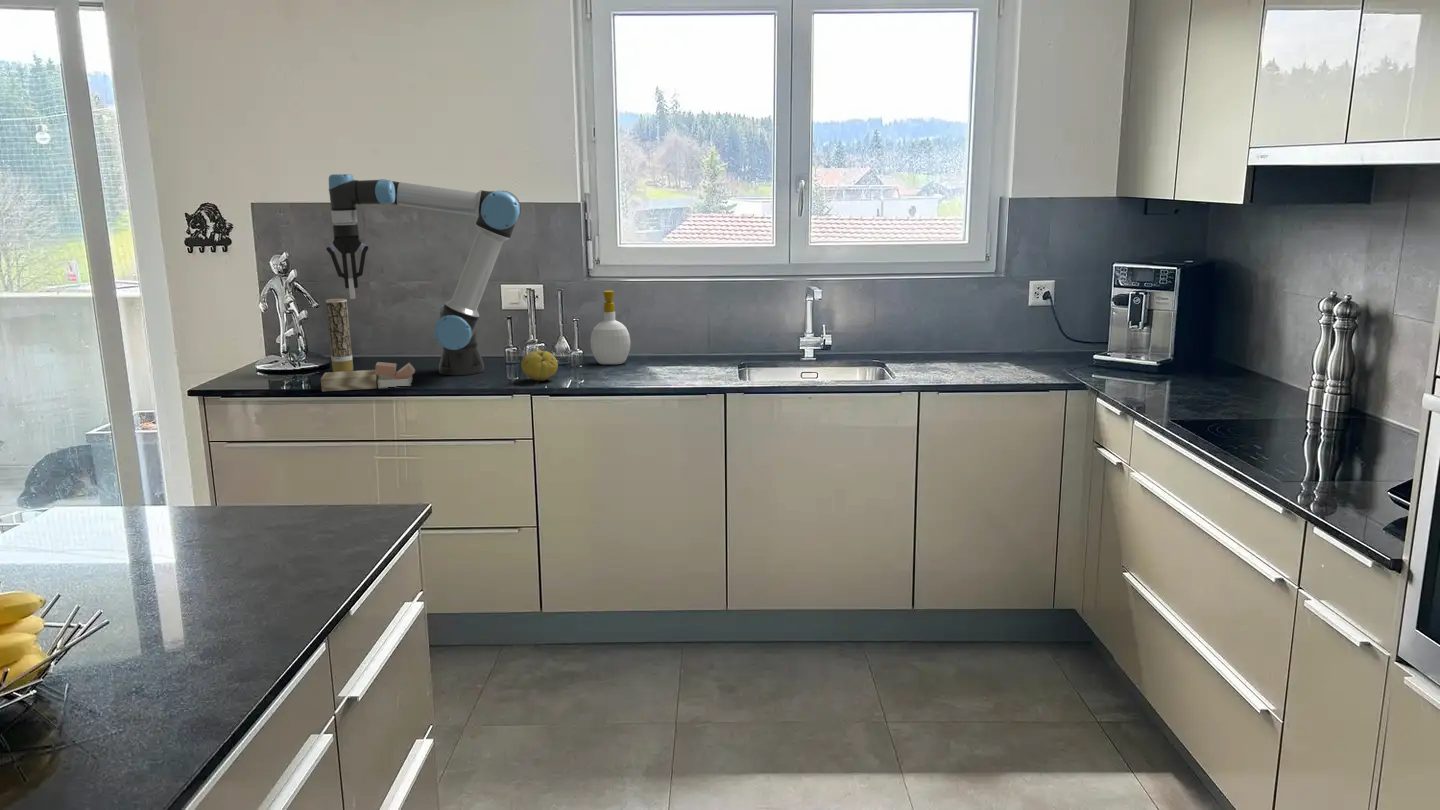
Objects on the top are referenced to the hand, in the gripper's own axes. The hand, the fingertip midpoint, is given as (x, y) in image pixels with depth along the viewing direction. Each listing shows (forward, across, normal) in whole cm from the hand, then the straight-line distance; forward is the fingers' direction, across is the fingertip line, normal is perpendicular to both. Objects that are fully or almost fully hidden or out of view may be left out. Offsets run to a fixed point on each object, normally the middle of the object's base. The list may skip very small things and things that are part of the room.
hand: (352, 298), depth 323 cm
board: (+28, +3, +5) cm, 28 cm away
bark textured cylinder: (+28, +7, -22) cm, 37 cm away
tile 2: (+23, -13, +5) cm, 27 cm away
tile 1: (+24, -8, +5) cm, 26 cm away
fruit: (+29, -56, +16) cm, 65 cm away
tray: (+28, -11, +5) cm, 30 cm away
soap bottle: (+29, -84, -6) cm, 89 cm away
